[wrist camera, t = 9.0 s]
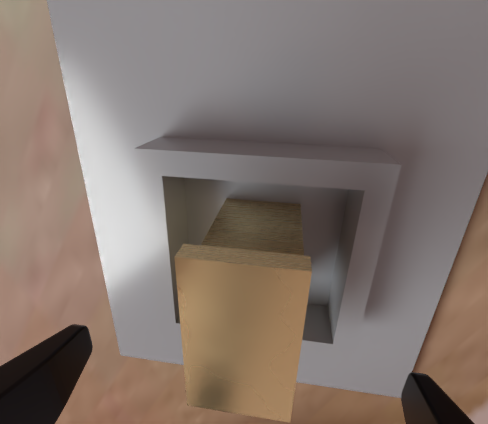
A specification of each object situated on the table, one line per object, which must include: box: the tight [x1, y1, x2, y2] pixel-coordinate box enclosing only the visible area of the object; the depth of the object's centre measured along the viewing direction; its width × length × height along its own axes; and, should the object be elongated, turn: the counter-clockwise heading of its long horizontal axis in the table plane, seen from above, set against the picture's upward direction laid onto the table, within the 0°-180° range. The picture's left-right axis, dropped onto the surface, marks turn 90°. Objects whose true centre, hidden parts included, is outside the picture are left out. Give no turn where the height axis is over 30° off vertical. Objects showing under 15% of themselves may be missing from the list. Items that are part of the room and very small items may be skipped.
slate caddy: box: [47, 0, 488, 398], centre depth 14 cm, size 20×18×3 cm
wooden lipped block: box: [174, 198, 312, 423], centre depth 12 cm, size 6×4×7 cm, turn 178°
